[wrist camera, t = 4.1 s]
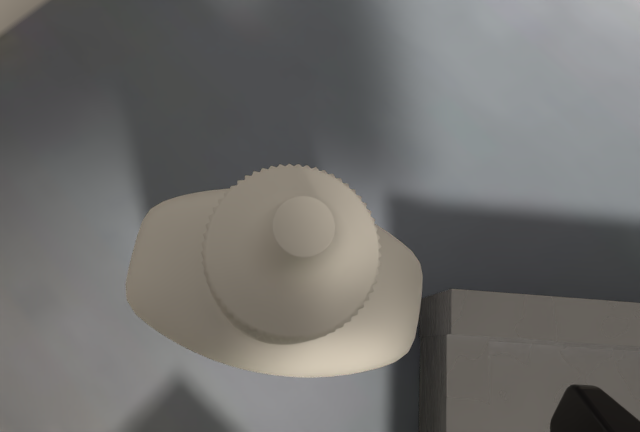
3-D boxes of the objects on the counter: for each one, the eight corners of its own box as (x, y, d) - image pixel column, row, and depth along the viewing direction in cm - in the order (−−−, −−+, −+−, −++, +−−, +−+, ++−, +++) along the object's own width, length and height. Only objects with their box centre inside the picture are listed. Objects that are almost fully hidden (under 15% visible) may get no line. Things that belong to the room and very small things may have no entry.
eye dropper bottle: (243, 200, 19) (240, -55, 7) (378, 313, 18) (607, 240, 7) (147, 306, 18) (-42, 208, 6) (290, 428, 17) (383, 578, 6)
